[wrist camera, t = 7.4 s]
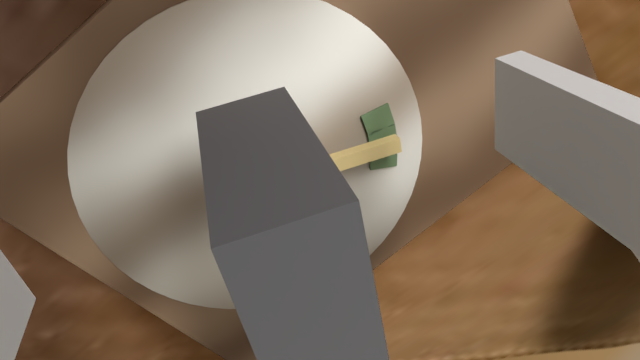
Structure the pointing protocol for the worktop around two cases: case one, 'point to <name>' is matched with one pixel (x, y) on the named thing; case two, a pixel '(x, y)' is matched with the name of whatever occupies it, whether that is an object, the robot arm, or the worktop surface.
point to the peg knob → (290, 231)
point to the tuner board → (240, 82)
